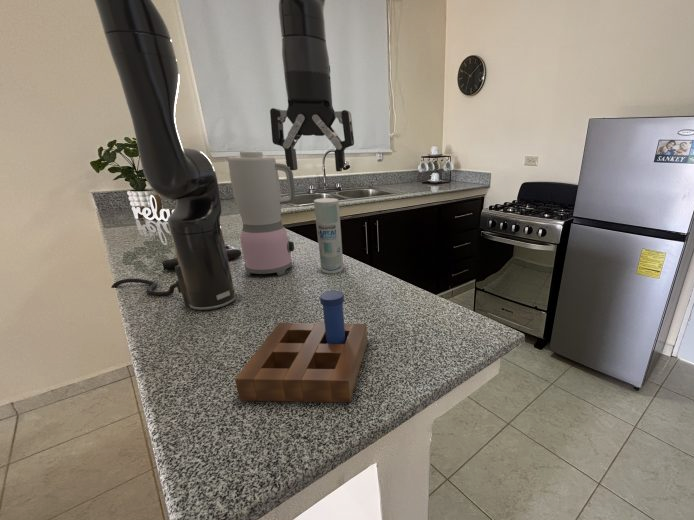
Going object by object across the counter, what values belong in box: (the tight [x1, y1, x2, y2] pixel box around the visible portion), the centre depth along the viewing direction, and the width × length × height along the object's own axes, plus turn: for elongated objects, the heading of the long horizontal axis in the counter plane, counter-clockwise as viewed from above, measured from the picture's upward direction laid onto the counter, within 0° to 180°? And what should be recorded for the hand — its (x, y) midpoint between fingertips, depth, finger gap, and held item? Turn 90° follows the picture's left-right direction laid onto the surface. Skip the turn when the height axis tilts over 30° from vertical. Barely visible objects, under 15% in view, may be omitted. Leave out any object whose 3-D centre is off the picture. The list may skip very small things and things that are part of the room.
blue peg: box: [319, 289, 346, 344], centre depth 60 cm, size 4×4×12 cm
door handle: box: [161, 244, 242, 271], centre depth 106 cm, size 3×20×16 cm
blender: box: [225, 150, 296, 276], centre depth 94 cm, size 16×12×32 cm
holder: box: [234, 322, 368, 403], centre depth 58 cm, size 16×16×4 cm
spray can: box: [313, 197, 344, 274], centre depth 97 cm, size 6×6×20 cm
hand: (316, 170), depth 66 cm, fingers open, 8 cm apart
